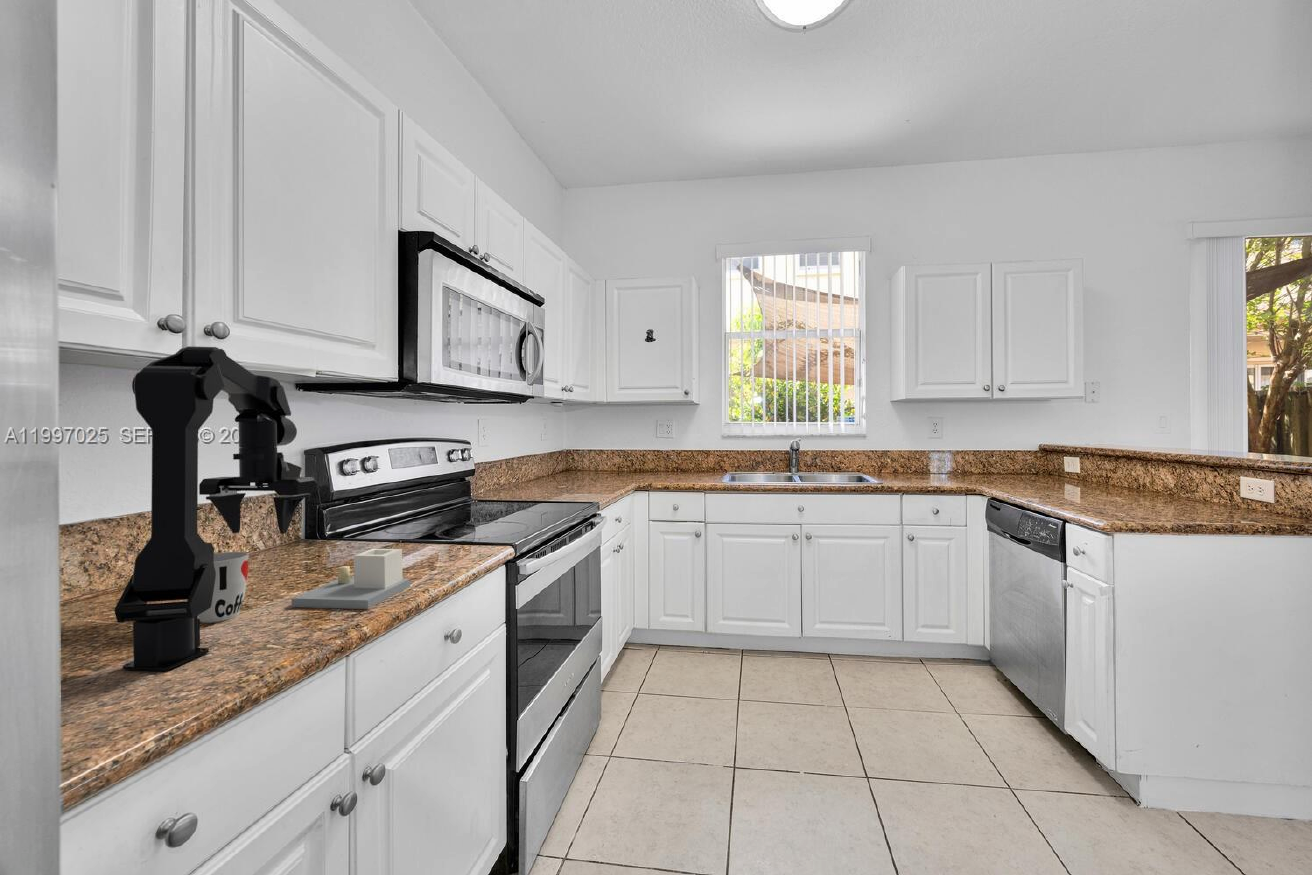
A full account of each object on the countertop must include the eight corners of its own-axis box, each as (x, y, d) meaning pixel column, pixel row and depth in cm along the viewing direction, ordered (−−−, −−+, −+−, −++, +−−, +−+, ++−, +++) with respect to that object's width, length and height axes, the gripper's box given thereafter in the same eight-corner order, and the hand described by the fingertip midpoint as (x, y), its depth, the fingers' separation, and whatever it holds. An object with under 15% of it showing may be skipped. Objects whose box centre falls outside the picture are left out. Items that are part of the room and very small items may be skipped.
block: (385, 588, 105) (384, 556, 105) (354, 587, 106) (353, 555, 106) (402, 579, 111) (402, 549, 111) (373, 579, 112) (372, 548, 112)
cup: (216, 627, 89) (215, 564, 89) (174, 624, 91) (173, 561, 91) (261, 611, 97) (260, 552, 97) (222, 608, 99) (221, 550, 99)
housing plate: (368, 608, 98) (367, 582, 98) (291, 606, 100) (291, 581, 99) (410, 586, 112) (409, 563, 112) (342, 584, 113) (342, 562, 113)
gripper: (335, 446, 111) (336, 526, 111) (245, 446, 113) (247, 525, 113) (294, 448, 100) (295, 537, 100) (195, 448, 101) (197, 535, 102)
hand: (259, 533), depth 104 cm, fingers open, 9 cm apart
